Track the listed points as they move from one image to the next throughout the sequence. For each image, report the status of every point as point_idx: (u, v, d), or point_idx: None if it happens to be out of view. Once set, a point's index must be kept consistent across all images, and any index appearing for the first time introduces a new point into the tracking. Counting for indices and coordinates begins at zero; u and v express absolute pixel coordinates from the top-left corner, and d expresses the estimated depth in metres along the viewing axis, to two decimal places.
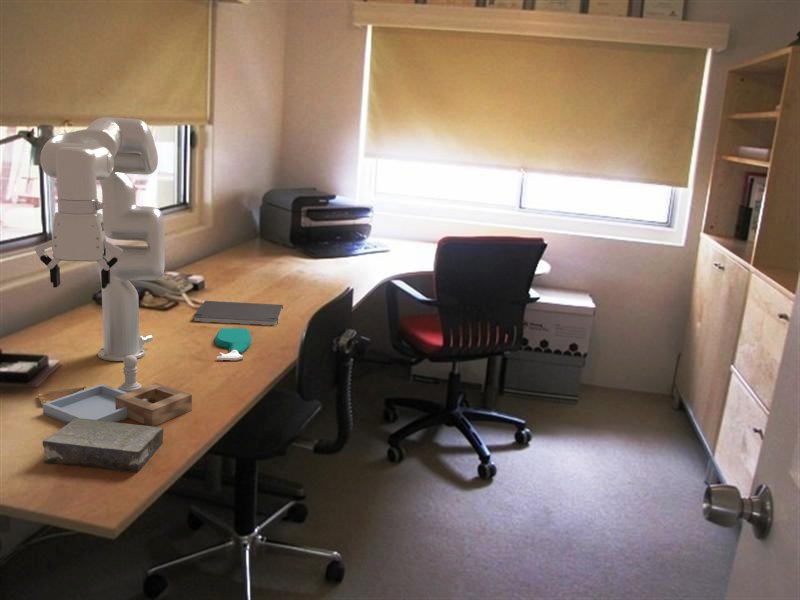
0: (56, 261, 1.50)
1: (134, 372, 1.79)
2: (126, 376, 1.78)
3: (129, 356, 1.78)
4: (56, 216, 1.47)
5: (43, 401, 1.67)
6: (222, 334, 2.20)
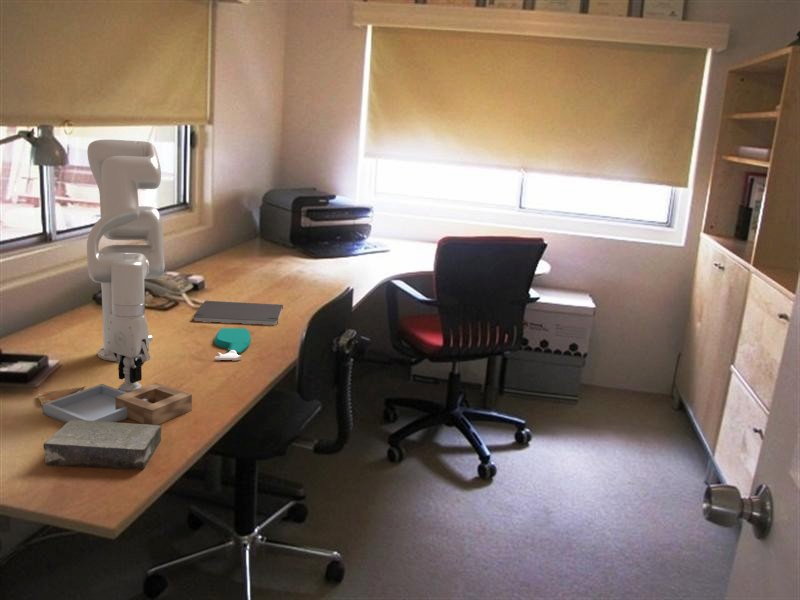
0: None
1: None
2: (126, 376, 1.78)
3: None
4: (145, 317, 1.76)
5: (43, 401, 1.67)
6: (222, 335, 2.20)
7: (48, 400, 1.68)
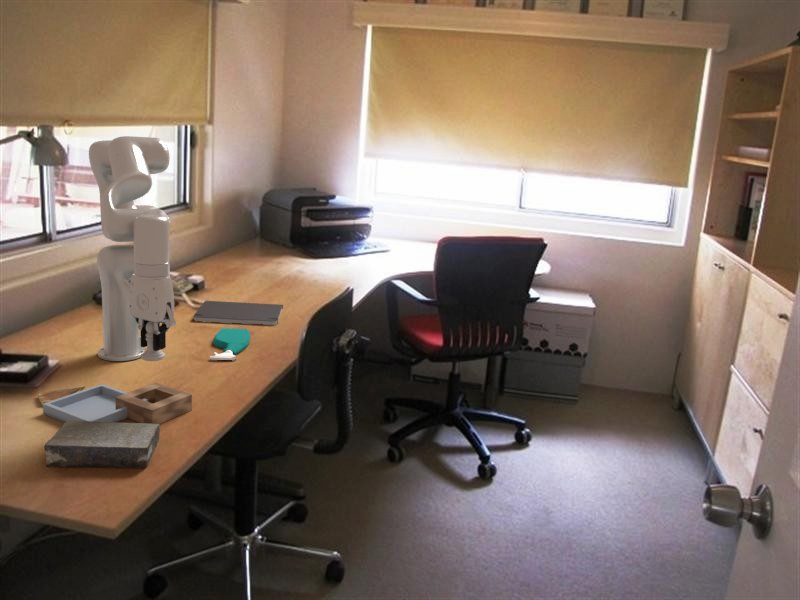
0: None
1: None
2: (149, 343, 1.63)
3: None
4: (170, 279, 1.60)
5: (43, 401, 1.67)
6: (221, 334, 2.20)
7: (48, 400, 1.68)
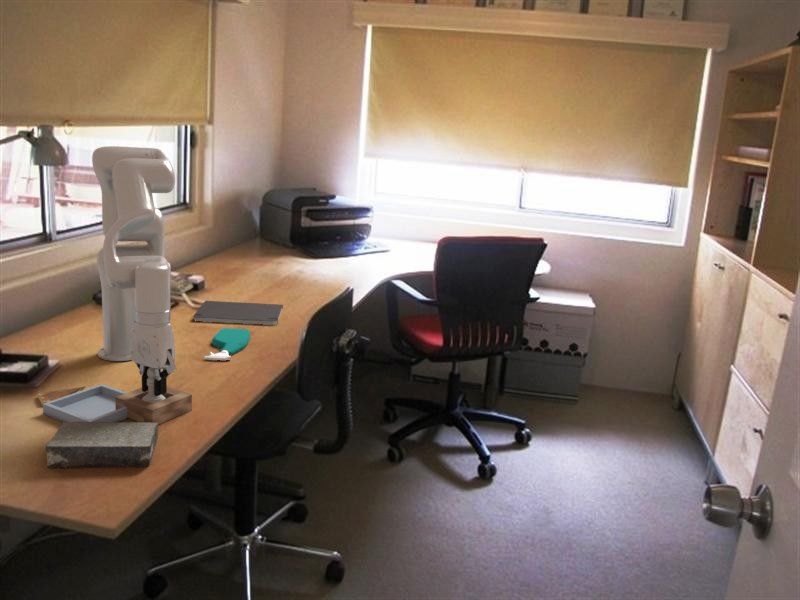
0: None
1: None
2: (150, 388, 1.66)
3: None
4: (171, 325, 1.63)
5: (43, 401, 1.67)
6: (220, 334, 2.20)
7: (48, 400, 1.68)
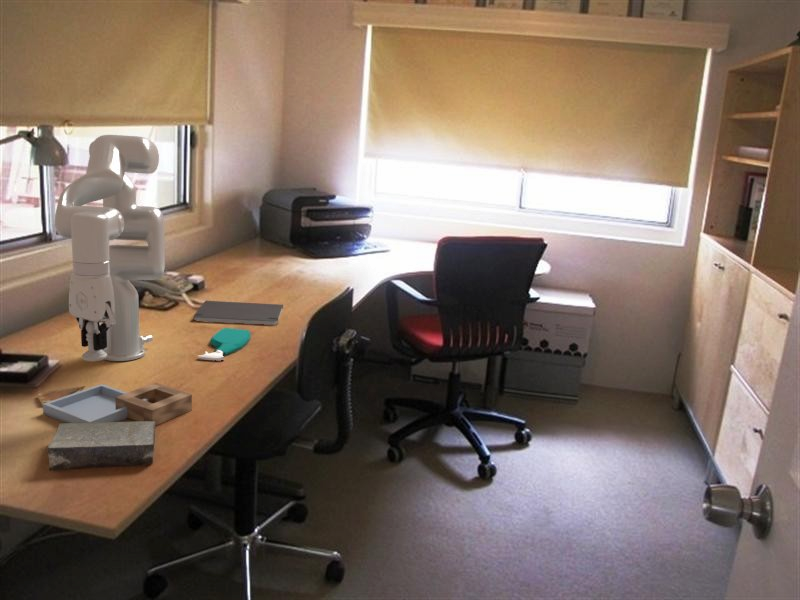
0: None
1: None
2: (89, 343, 1.61)
3: None
4: (110, 277, 1.58)
5: (43, 401, 1.67)
6: (219, 334, 2.21)
7: (48, 400, 1.68)
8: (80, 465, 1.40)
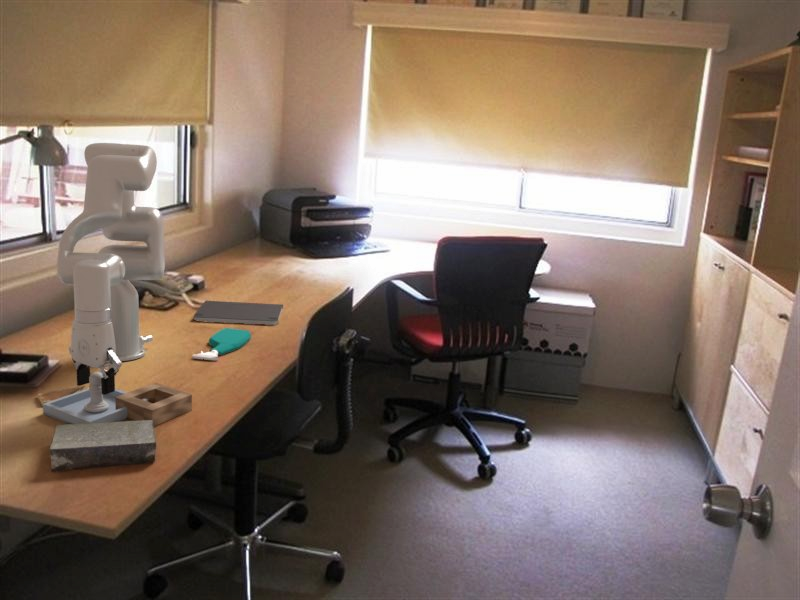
0: None
1: (100, 390, 1.64)
2: (92, 395, 1.64)
3: (95, 373, 1.64)
4: (112, 324, 1.61)
5: (43, 401, 1.67)
6: (219, 334, 2.21)
7: (48, 400, 1.68)
8: (82, 465, 1.40)
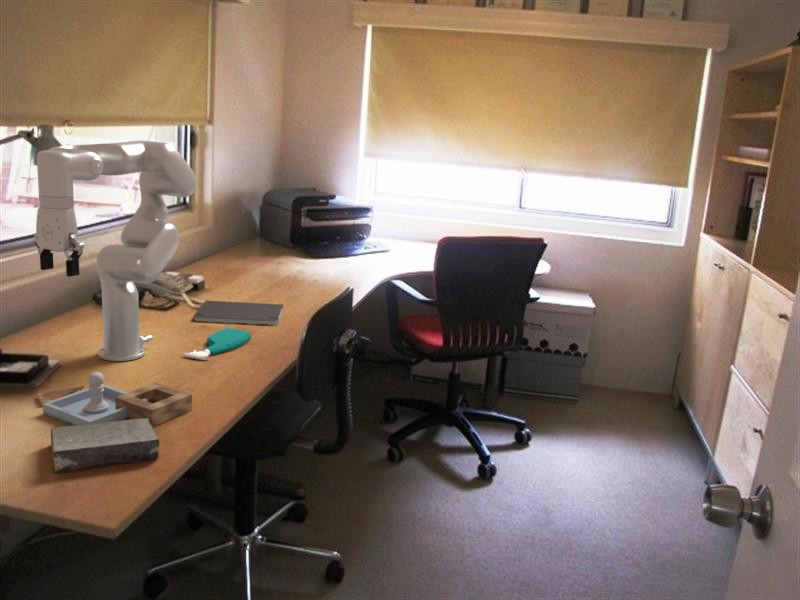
0: None
1: (100, 391, 1.64)
2: (91, 395, 1.64)
3: (95, 373, 1.64)
4: None
5: (43, 400, 1.67)
6: (218, 334, 2.21)
7: (48, 400, 1.68)
8: (87, 466, 1.40)
